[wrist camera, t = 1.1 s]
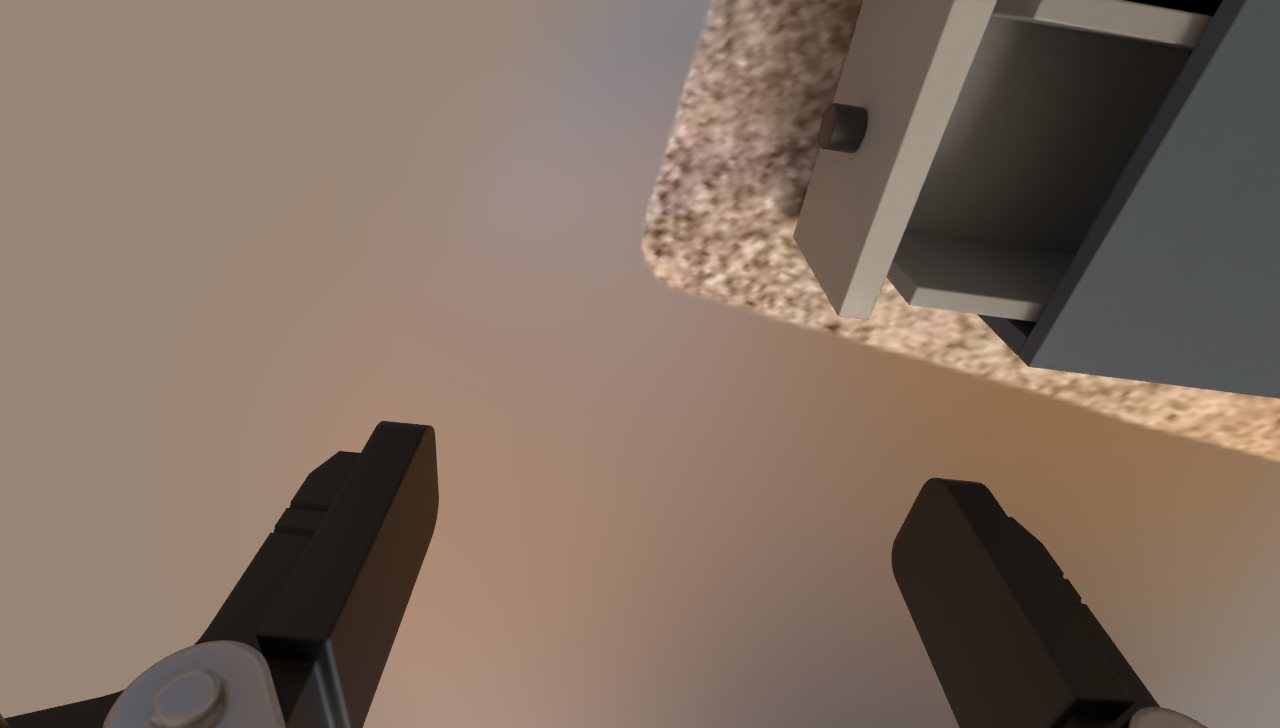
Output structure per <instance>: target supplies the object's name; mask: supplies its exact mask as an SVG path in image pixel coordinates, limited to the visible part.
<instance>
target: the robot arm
mask: <svg viewBox="0 0 1280 728" xmlns="http://www.w3.org/2000/svg"><path fill="white" fill-rule="evenodd" d="M438 503H439V492H438V477H437V459H436V442H435V432H434V429H433V427H432V426H429V425H419V424H409V423H399V422H389V421H381V422H380V423H379V424H378V425H377V426H376V428H375V430H374V431H373V433H372V435H371V436H370V438H369V440H368V442H367V443H366V445H365V447H364V449H363V450H362V452H361V453H355V452H343V451H339V452H338V453H336V454H335V455H334V456H332V457H331V458H330V459H328V460H327V461H326V462H324V463H323V464H322V465H320V466H319V467H318V468H316V469H315V470H314V471H312V472H311V473H310V474H309V475H308V477H307V478H306V480H305V481H304V483H303V484H302V486H301V487H300V489H299V490H298V492H297V493H296V495H295V496H294V498H293V499H292V501H291V505H290V508H287V509H286V510H285V512H284V513H283V515H282V516H281V518H280V519H279V521H278V522H277V524H276V525H275V530H274V532H273V533H270V534H269V536H268V538H267V539H266V541H265V542H264V543H263V545H262V546H261V548H260V549H259V551H258V553H257V554H256V556H255V557H254V559H253V560H252V562H251V563H250V565H249V566H248V568H247V569H246V571H245V572H244V574H243V575H242V577H241V578H240V580H239V581H238V583H237V585H236V586H235V587H234V589H233V590H232V592H231V594H230V595H229V597H228V598H227V600H226V601H225V603H224V604H223V606H222V607H221V609H220V610H219V612H218V613H217V615H216V617H215V618H214V620H213V621H212V622H211V624H210V625H209V627H208V628H207V630H206V631H205V632H204V634H203V635H202V636H201V638H200V639H199V640H198V641H197V642H196V643H195V644H194V645H193V646H191V647H188V648H185V649H182V650H180V651H178V652H175V653H173V654H171V655H169V656H167V657H165V658H164V659H162V660H161V661H159V662H157V663H156V664H154V665H153V666H151V667H150V668H149V669H147V670H146V671H145V672H143V673H142V674H141V675H140V676H139V677H137V678H136V679H135V680H134V681H133V682H132V683H131V684H130V685H129V686H128V687H127V688H126V689H125V690H122V691H120V692H117V693H113V694H110V695H106V696H103V697H99V698H94V699H90V700H86V701H81V702H77V703H72V704H68V705H63V706H59V707H54V708H49V709H45V710H41V711H36V712H32V713H27V714H23V715H18V716H14V717H9V718H5V719H4V718H3V717H2V715H1V714H0V728H363V725H364V722H365V719H366V717H367V714H368V711H369V708H370V706H371V703H372V700H373V697H374V695H375V692H376V689H377V686H378V684H379V681H380V678H381V675H382V673H383V670H384V667H385V664H386V662H387V659H388V656H389V653H390V651H391V648H392V645H393V643H394V640H395V637H396V634H397V632H398V629H399V626H400V623H401V621H402V618H403V615H404V612H405V610H406V607H407V604H408V601H409V599H410V596H411V593H412V590H413V588H414V585H415V582H416V579H417V576H418V574H419V571H420V568H421V566H422V563H423V560H424V557H425V555H426V552H427V549H428V546H429V543H430V541H431V538H432V535H433V532H434V528H435V524H436V519H437V513H438ZM892 568H893V573H894V576H895V579H896V582H897V584H898V586H899V588H900V591H901V593H902V595H903V598H904V600H905V602H906V604H907V607H908V609H909V611H910V614H911V616H912V618H913V621H914V623H915V625H916V628H917V630H918V632H919V634H920V636H921V639H922V642H923V644H924V646H925V649H926V651H927V653H928V656H929V658H930V660H931V662H932V665H933V667H934V669H935V672H936V674H937V676H938V679H939V681H940V683H941V685H942V688H943V690H944V692H945V695H946V697H947V699H948V702H949V704H950V706H951V709H952V711H953V713H954V716H955V718H956V720H957V723H958V725H959V727H960V728H1207V727H1206V726H1204V725H1202V724H1201V723H1199V722H1198V721H1196V720H1194V719H1192V718H1190V717H1188V716H1186V715H1184V714H1181V713H1179V712H1176V711H1173V710H1170V709H1166V708H1161V707H1160V706H1159V705H1158V704H1157V702H1156V701H1155V699H1154V698H1153V697H1152V695H1151V694H1150V693H1149V691H1148V690H1147V688H1146V687H1145V686H1144V684H1143V683H1142V681H1141V680H1140V679H1139V677H1138V676H1137V674H1136V673H1135V672H1134V670H1133V669H1132V667H1131V666H1130V665H1129V663H1128V662H1127V661H1126V659H1125V658H1124V656H1123V655H1122V654H1121V652H1120V651H1119V650H1118V648H1117V647H1116V645H1115V644H1114V642H1113V641H1112V640H1111V638H1110V637H1109V636H1108V634H1107V633H1106V631H1105V630H1104V629H1103V627H1102V626H1101V624H1100V623H1099V622H1098V620H1097V619H1096V617H1095V616H1094V615H1093V613H1092V612H1091V611H1090V609H1089V608H1088V606H1087V605H1086V604H1082V603H1081V597H1080V595H1079V594H1078V593H1077V591H1076V590H1075V588H1074V587H1073V585H1072V584H1071V583H1070V581H1069V580H1068V579H1064V578H1063V574H1064V573H1063V572H1062V571H1061V569H1060V567H1059V566H1058V565H1057V563H1056V562H1055V560H1054V559H1053V558H1052V556H1051V555H1050V554H1049V552H1048V551H1047V549H1046V548H1045V547H1044V545H1043V544H1042V543H1041V542H1040V541H1039V540H1037V539H1036V538H1035V537H1034V536H1033V535H1032V534H1031V533H1030V532H1028V531H1027V530H1026V529H1025V528H1024V527H1023V526H1022V525H1020V524H1019V523H1018V522H1017V521H1016V520H1015V519H1013V518H1012V517H1008V516H1007V515H1006V513H1005V512H1004V511H1003V509H1002V508H1001V506H1000V505H999V503H998V502H997V500H996V499H995V498H994V496H993V495H992V493H991V492H990V491H989V489H988V488H987V487H986V486H985V485H983V484H982V483H979V482H972V481H962V480H952V479H942V478H932V479H929V480H928V481H927V482H926V483H925V484H924V486H923V487H922V489H921V491H920V493H919V495H918V497H917V498H916V500H915V502H914V504H913V506H912V508H911V510H910V512H909V514H908V515H907V517H906V519H905V521H904V523H903V525H902V527H901V529H900V531H899V532H898V534H897V536H896V538H895V541H894V544H893V548H892Z"/></svg>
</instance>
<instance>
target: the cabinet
mask: <svg viewBox="0 0 1280 728" xmlns="http://www.w3.org/2000/svg"><path fill="white" fill-rule="evenodd" d="M1125 1H1131V2H1136V3H1142V4H1148V5H1153V6H1159V7H1164V8H1170V9H1175V10H1181V11H1187V12H1192V13H1198V14H1203V15H1209V16H1213V18H1212V20H1211V21H1210V23H1209V25H1208V27H1207V28H1206V30H1205V32H1204V33H1203V35H1202V37H1201V39H1200V40H1199V42H1198V44H1197V46H1196V47H1195V49H1194V51H1193V53H1192V54H1191V56H1190V58H1189V59H1188V61H1187V63H1186V65H1185V66H1184V68H1183V70H1182V72H1181V73H1180V75H1179V77H1178V79H1177V80H1176V82H1175V84H1174V86H1173V87H1172V89H1171V91H1170V92H1169V94H1168V96H1167V98H1166V99H1165V101H1164V103H1163V105H1162V106H1161V108H1160V110H1159V112H1158V113H1157V115H1156V117H1155V119H1154V120H1153V122H1152V124H1151V125H1150V127H1149V129H1148V131H1147V132H1146V134H1145V136H1144V138H1143V139H1142V141H1141V143H1140V145H1139V146H1138V148H1137V150H1136V151H1135V153H1134V155H1133V157H1132V158H1131V160H1130V162H1129V164H1128V165H1127V167H1126V169H1125V171H1124V172H1123V174H1122V176H1121V178H1120V179H1119V181H1118V183H1117V184H1116V186H1115V188H1114V190H1113V191H1112V193H1111V195H1110V197H1109V198H1108V200H1107V202H1106V204H1105V205H1104V207H1103V209H1102V210H1101V212H1100V214H1099V216H1098V217H1097V219H1096V221H1095V223H1094V224H1093V226H1092V228H1091V230H1090V231H1089V233H1088V235H1087V237H1086V238H1085V240H1084V242H1083V243H1082V245H1081V247H1080V249H1079V250H1078V252H1077V254H1076V256H1075V257H1074V259H1073V261H1072V263H1071V264H1070V266H1069V268H1068V270H1067V271H1066V273H1065V275H1064V276H1063V278H1062V280H1061V282H1060V283H1059V285H1058V287H1057V289H1056V290H1055V292H1054V294H1053V296H1052V297H1051V299H1050V301H1049V302H1048V304H1047V306H1046V308H1045V309H1044V311H1043V313H1042V315H1041V316H1040V318H1039V320H1038V322H1032V321H1025V320H1017V319H1010V318H1002V317H994V316H987V315H979V314H977V315H978V316H979V317H980V318H981V319H982V320H983V321H984V322H985V323H986V324H987V325H988V326H989V327H990V328H991V329H992V330H993V331H994V332H995V333H996V334H997V335H998V336H999V337H1000V338H1001V339H1002V340H1003V341H1004V342H1005V343H1006V344H1007V345H1008V346H1009V347H1010V348H1011V349H1012V350H1013V351H1014V352H1015V353H1016V355H1018V356H1019V357H1020V358H1021V359H1022V360H1023V361H1024V362H1025V363H1026V365H1027V366H1029V367H1035V368H1043V369H1051V370H1059V371H1067V372H1074V373H1082V374H1090V375H1098V376H1106V377H1114V378H1122V379H1130V380H1137V381H1145V382H1153V383H1161V384H1169V385H1177V386H1185V387H1193V388H1201V389H1208V390H1216V391H1224V392H1232V393H1240V394H1248V395H1256V396H1264V397H1271V398H1279V399H1280V0H1125Z"/></svg>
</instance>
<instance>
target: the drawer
mask: <svg viewBox="0 0 1280 728" xmlns="http://www.w3.org/2000/svg"><path fill="white" fill-rule="evenodd" d="M1212 18H1213V16H1209V15H1203V14H1198V13H1192V12H1187V11H1181V10H1175V9H1170V8H1164V7H1159V6H1153V5H1148V4H1142V3H1136V2H1131V1H1125V0H863V4H862V7H861V10H860V14H859V17H858V20H857V24H856V27H855V30H854V34H853V37H852V41H851V44H850V47H849V51H848V54H847V57H846V61H845V64H844V67H843V71H842V74H841V78H840V81H839V84H838V88H837V91H836V94H835V98H834V101H833V103H832V104H830V105H829V107H828V108H827V110H826V112H825V114H824V117H823V119H822V123H821V127H820V132H819V145H820V148H819V152H818V155H817V158H816V162H815V165H814V168H813V172H812V175H811V178H810V182H809V185H808V189H807V192H806V195H805V199H804V202H803V205H802V209H801V212H800V215H799V219H798V222H797V226H796V229H795V232H794V236H793V238H794V239H795V241H796V243H797V245H798V246H799V248H800V250H801V252H802V253H803V255H804V257H805V259H806V261H807V262H808V264H809V266H810V268H811V269H812V271H813V273H814V275H815V276H816V278H817V280H818V282H819V283H820V285H821V287H822V289H823V290H824V292H825V294H826V296H827V297H828V299H829V301H830V303H831V304H832V306H833V308H834V310H835V311H836V313H837V315H838V316H841V317H849V318H856V319H864V320H869V318H870V316H871V313H872V311H873V308H874V306H875V303H876V301H877V298H878V296H879V293H880V291H881V288H882V286H883V283H884V281H885V278H886V277H887V278H888V279H889V281H890V282H891V283H892V284H893V286H894V287H895V288H896V289H897V291H898V292H899V293H900V294H901V296H902V297H903V298H904V299H905V301H906V302H907V303H908V304H909V305H912V306H919V307H927V308H934V309H942V310H949V311H957V312H964V313H972V314H979V315H987V316H994V317H1002V318H1010V319H1017V320H1025V321H1032V322H1038V320H1039V318H1040V316H1041V315H1042V313H1043V311H1044V309H1045V308H1046V306H1047V304H1048V302H1049V301H1050V299H1051V297H1052V296H1053V294H1054V292H1055V290H1056V289H1057V287H1058V285H1059V283H1060V282H1061V280H1062V278H1063V276H1064V275H1065V273H1066V271H1067V270H1068V268H1069V266H1070V264H1071V263H1072V261H1073V259H1074V257H1075V256H1076V254H1077V252H1078V250H1079V249H1080V247H1081V245H1082V243H1083V242H1084V240H1085V238H1086V237H1087V235H1088V233H1089V231H1090V230H1091V228H1092V226H1093V224H1094V223H1095V221H1096V219H1097V217H1098V216H1099V214H1100V212H1101V210H1102V209H1103V207H1104V205H1105V204H1106V202H1107V200H1108V198H1109V197H1110V195H1111V193H1112V191H1113V190H1114V188H1115V186H1116V184H1117V183H1118V181H1119V179H1120V178H1121V176H1122V174H1123V172H1124V171H1125V169H1126V167H1127V165H1128V164H1129V162H1130V160H1131V158H1132V157H1133V155H1134V153H1135V151H1136V150H1137V148H1138V146H1139V145H1140V143H1141V141H1142V139H1143V138H1144V136H1145V134H1146V132H1147V131H1148V129H1149V127H1150V125H1151V124H1152V122H1153V120H1154V119H1155V117H1156V115H1157V113H1158V112H1159V110H1160V108H1161V106H1162V105H1163V103H1164V101H1165V99H1166V98H1167V96H1168V94H1169V92H1170V91H1171V89H1172V87H1173V86H1174V84H1175V82H1176V80H1177V79H1178V77H1179V75H1180V73H1181V72H1182V70H1183V68H1184V66H1185V65H1186V63H1187V61H1188V59H1189V58H1190V56H1191V54H1192V53H1193V51H1194V49H1195V47H1196V46H1197V44H1198V42H1199V40H1200V39H1201V37H1202V35H1203V33H1204V32H1205V30H1206V28H1207V27H1208V25H1209V23H1210V21H1211V20H1212Z"/></svg>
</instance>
